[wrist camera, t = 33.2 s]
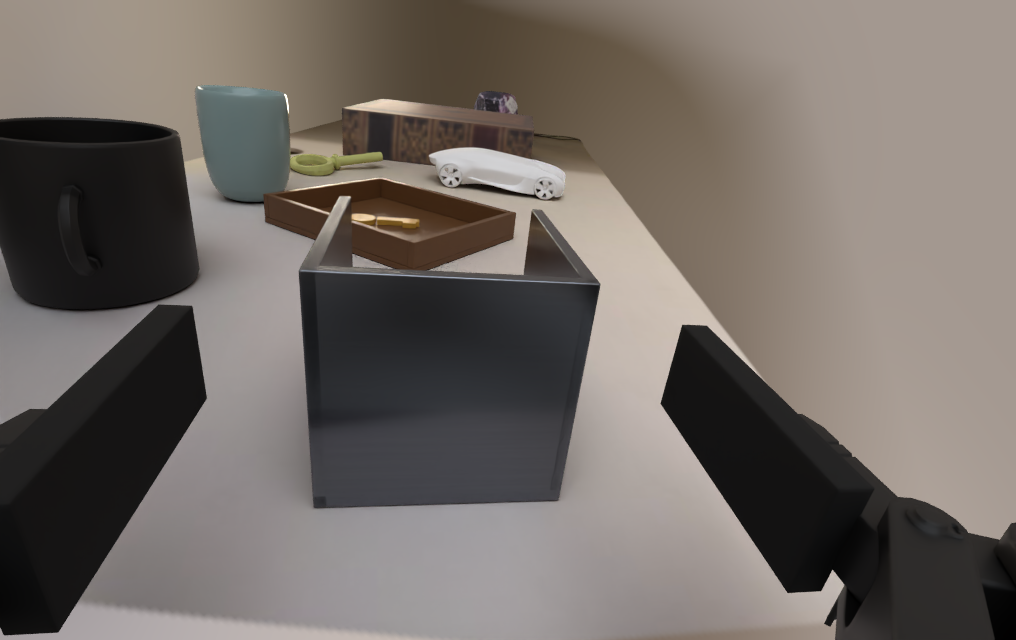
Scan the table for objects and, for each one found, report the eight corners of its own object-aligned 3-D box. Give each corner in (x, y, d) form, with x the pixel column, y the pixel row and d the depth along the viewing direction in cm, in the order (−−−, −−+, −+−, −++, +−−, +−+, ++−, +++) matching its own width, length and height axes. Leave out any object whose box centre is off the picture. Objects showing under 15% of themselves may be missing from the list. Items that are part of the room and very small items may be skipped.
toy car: (563, 189, 74) (568, 156, 72) (562, 202, 67) (568, 165, 65) (435, 173, 75) (437, 139, 73) (421, 184, 68) (423, 147, 66)
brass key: (349, 212, 50) (349, 218, 50) (347, 219, 47) (347, 225, 48) (419, 216, 51) (419, 222, 51) (419, 224, 49) (419, 229, 49)
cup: (213, 187, 56) (200, 83, 52) (293, 189, 59) (287, 90, 54) (202, 206, 50) (186, 89, 45) (293, 208, 52) (286, 98, 48)
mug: (-29, 342, 26) (-99, 149, 22) (39, 258, 36) (-2, 112, 32) (196, 323, 30) (169, 157, 26) (202, 252, 40) (184, 122, 36)
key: (386, 168, 74) (386, 152, 74) (313, 177, 65) (311, 159, 64) (350, 159, 78) (350, 143, 77) (275, 166, 68) (274, 149, 67)
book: (528, 175, 81) (534, 130, 78) (343, 154, 81) (341, 108, 78) (527, 152, 103) (532, 116, 100) (382, 135, 103) (382, 98, 100)
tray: (265, 221, 48) (262, 193, 47) (380, 200, 59) (380, 177, 58) (413, 275, 40) (414, 243, 39) (513, 238, 51) (516, 212, 50)
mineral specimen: (488, 132, 110) (482, 82, 109) (467, 145, 119) (462, 98, 118) (529, 133, 114) (524, 84, 113) (506, 145, 124) (501, 100, 123)
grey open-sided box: (558, 500, 21) (601, 283, 17) (313, 508, 19) (298, 270, 15) (519, 376, 29) (542, 209, 25) (344, 373, 27) (339, 195, 23)
